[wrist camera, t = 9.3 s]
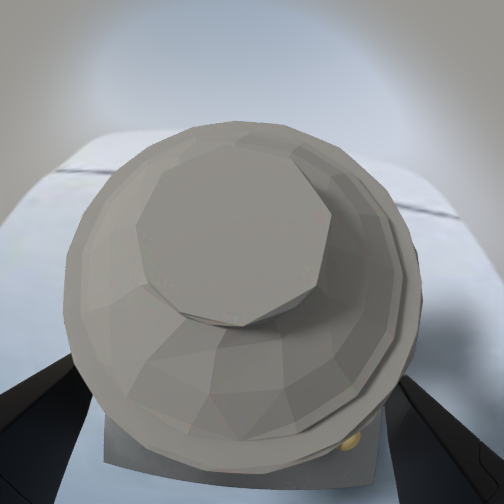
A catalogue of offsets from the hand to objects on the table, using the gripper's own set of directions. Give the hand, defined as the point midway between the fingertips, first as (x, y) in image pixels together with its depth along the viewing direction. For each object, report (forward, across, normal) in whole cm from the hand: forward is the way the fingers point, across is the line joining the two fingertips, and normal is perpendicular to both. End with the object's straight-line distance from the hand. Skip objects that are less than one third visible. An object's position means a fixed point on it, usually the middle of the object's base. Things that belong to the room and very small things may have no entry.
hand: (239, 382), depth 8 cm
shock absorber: (+8, 0, +5) cm, 9 cm away
